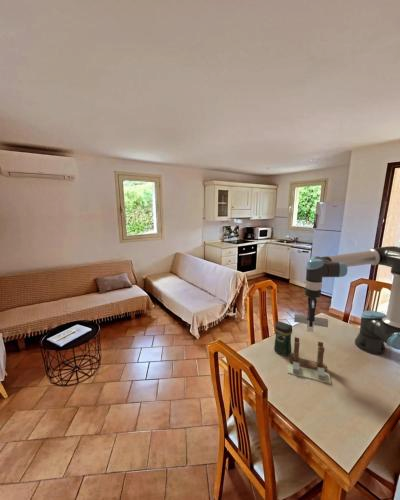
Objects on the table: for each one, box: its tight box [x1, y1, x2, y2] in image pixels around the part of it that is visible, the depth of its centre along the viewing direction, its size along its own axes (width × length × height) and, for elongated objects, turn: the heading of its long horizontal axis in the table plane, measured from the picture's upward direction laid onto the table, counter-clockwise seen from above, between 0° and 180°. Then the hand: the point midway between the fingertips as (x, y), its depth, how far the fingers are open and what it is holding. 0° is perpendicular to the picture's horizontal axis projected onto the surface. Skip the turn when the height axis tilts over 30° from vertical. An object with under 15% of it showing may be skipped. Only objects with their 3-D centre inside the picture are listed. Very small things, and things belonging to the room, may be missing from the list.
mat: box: [287, 362, 332, 385], centre depth 116 cm, size 20×7×3 cm, turn 68°
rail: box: [293, 313, 329, 328], centre depth 118 cm, size 16×3×3 cm, turn 67°
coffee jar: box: [273, 320, 293, 357], centre depth 133 cm, size 10×8×19 cm
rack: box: [289, 336, 327, 372], centre depth 122 cm, size 18×6×13 cm, turn 68°
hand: (309, 329), depth 119 cm, fingers closed on rail, 3 cm apart
